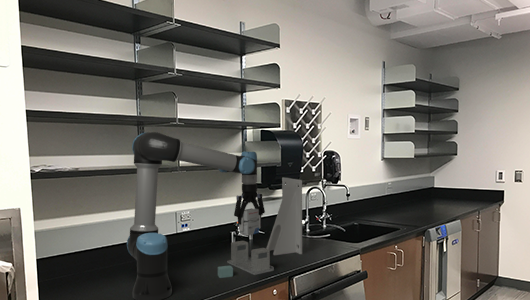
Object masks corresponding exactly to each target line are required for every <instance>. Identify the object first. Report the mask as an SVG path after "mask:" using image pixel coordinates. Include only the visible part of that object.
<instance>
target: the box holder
mask: <svg viewBox="0 0 530 300" xmlns="http://www.w3.org/2000/svg"><path fill="white" fill-rule="evenodd" d="M266 248H267V247H260V248H255V249H254V248H253V249H251V251H250V253H251V254H250V255H251V256H249V242H248V241H245V240H240V241H239V240H238V241H233V242H230V259H229V260H226V261H227V263H226V264H229V265H230V266H232V267H236V268H237V269H241V270H242V271H244V272H247V273H249V274H251V275H254V276H256V275H261V274H265V273H270V272H273V271H275V269H274V268H275V267H274V266H272V265H270V263H271V262H270V261H271V260H270V258H271V257H270V255H271V253H270V252H271V251H270V250H269V249H266Z"/></svg>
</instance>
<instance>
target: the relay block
mask: <svg viewBox="0 0 530 300" xmlns="http://www.w3.org/2000/svg"><path fill="white" fill-rule="evenodd" d="M233 267H234V266H233V265H224V266H217V276H218V278H220V279H223V278H224V279H225V278H232V277H233V276H234V268H233Z"/></svg>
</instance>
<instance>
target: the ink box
mask: <svg viewBox="0 0 530 300" xmlns="http://www.w3.org/2000/svg"><path fill="white" fill-rule="evenodd" d="M242 217H243V229H244V231H240V235H242V236H247V237H248V236H251V235H256V234H259V233H260V229H259V209H255V208H248V209H246V208H245V210H244V213H243V215H242Z"/></svg>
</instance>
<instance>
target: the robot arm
mask: <svg viewBox="0 0 530 300" xmlns="http://www.w3.org/2000/svg"><path fill="white" fill-rule="evenodd" d="M131 148H132V153H133V165H135V166H136V167H135V168H136V180H135V181H136V184H135V198H134V199H135V203H134V217H133V219H134V222H133V225H132V226H130V228H129V236H128V238H127V240H126V247H127V251H128V253H129V254H130V256H131V257H132V258H134V260H136V279H135V283H134V286H133V288H132V299H134V300H165V299H167V298H169V297H170V296H171V295H172V294H173V286H172V284H171V281H170V279H169V275H168V239H167V236H166V235H164V234H162V233H159V227H158V226H157V225H156V215H157V214H156V213H157V212H156V211H157V193H158V175H159V168H160V167H161V166H162V165H163V161H164V162H165V161H167V162H172V163H175V162H177V161H180V162H184V163H189V164H195V165H199V166H202V167H208V168H213V169H218V171H219V172H220V173H234V174H241V192H242V193H241V195H236V197H235V198H236V203H235V208H234V212H233V213H234V214H233V216H234V217H237V224H238V231H240V232H241V231H244V229H243V217H242V215H243V213H244V210H246V208H247V205H249V204H250V203H251V204H252V205H253V209H259V230H260V229H261V222H262V216H263V215H264V214H265V213H266V211H265V206H264V201H263V193H258V154H257V152H256V151H242V152H241V154H240V155H237V154H233V153H228V152H224V151H219V150H216V149H212V148H207V147H203V146H199V145H194V144H190V143H187V142H183V141H181V139H180V138H175V137H172V136H169V135H166V134H163V133H160V132H156V131H150V132H149V131H148V132H145V131H144V132H142V133H140V134H138V135H137V136H136V137H135V138H134V139H133V141H132V145H131Z"/></svg>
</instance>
